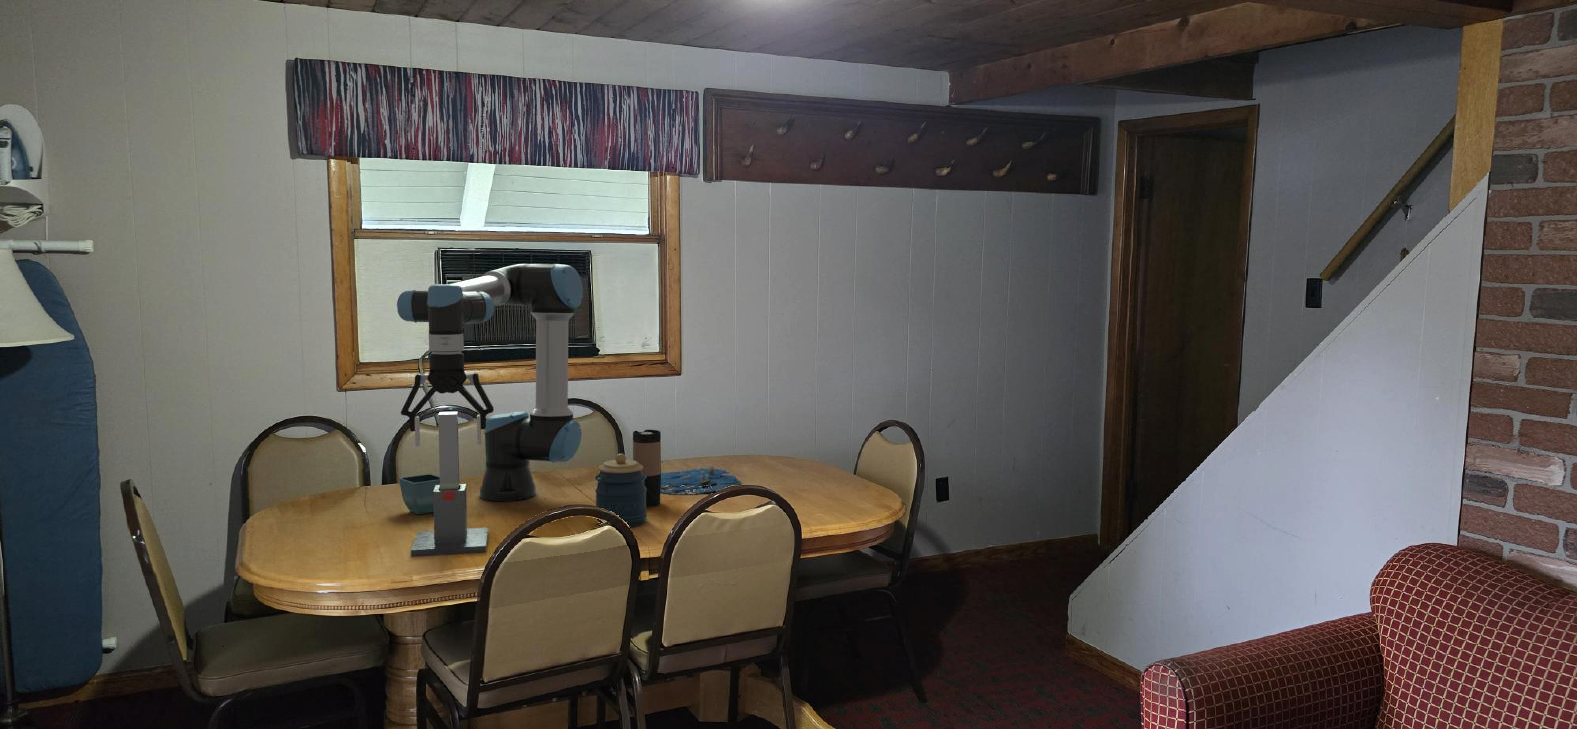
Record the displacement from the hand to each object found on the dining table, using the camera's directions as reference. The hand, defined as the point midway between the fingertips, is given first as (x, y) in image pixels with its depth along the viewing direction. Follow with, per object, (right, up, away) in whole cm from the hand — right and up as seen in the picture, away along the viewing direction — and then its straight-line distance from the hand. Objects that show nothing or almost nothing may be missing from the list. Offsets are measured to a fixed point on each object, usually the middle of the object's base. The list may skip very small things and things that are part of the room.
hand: (448, 444), depth 234 cm
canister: (+36, -22, +24) cm, 48 cm away
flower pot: (-17, -20, +32) cm, 42 cm away
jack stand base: (0, -23, +3) cm, 24 cm away
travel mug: (+40, -20, +43) cm, 62 cm away
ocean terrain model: (+50, -18, +68) cm, 86 cm away
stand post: (0, -16, +2) cm, 16 cm away
